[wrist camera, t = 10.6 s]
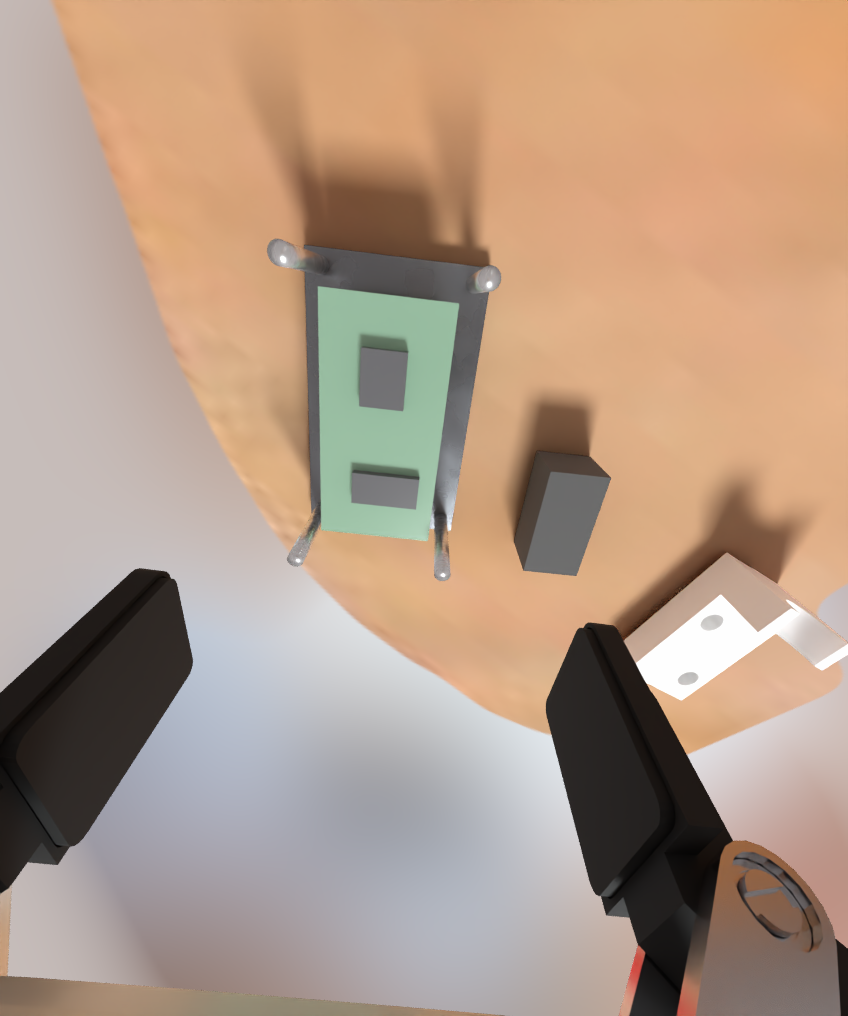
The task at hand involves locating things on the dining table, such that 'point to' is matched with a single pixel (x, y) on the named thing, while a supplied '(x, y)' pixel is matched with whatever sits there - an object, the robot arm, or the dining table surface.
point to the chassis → (472, 297)
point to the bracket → (725, 628)
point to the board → (381, 409)
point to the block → (559, 512)
